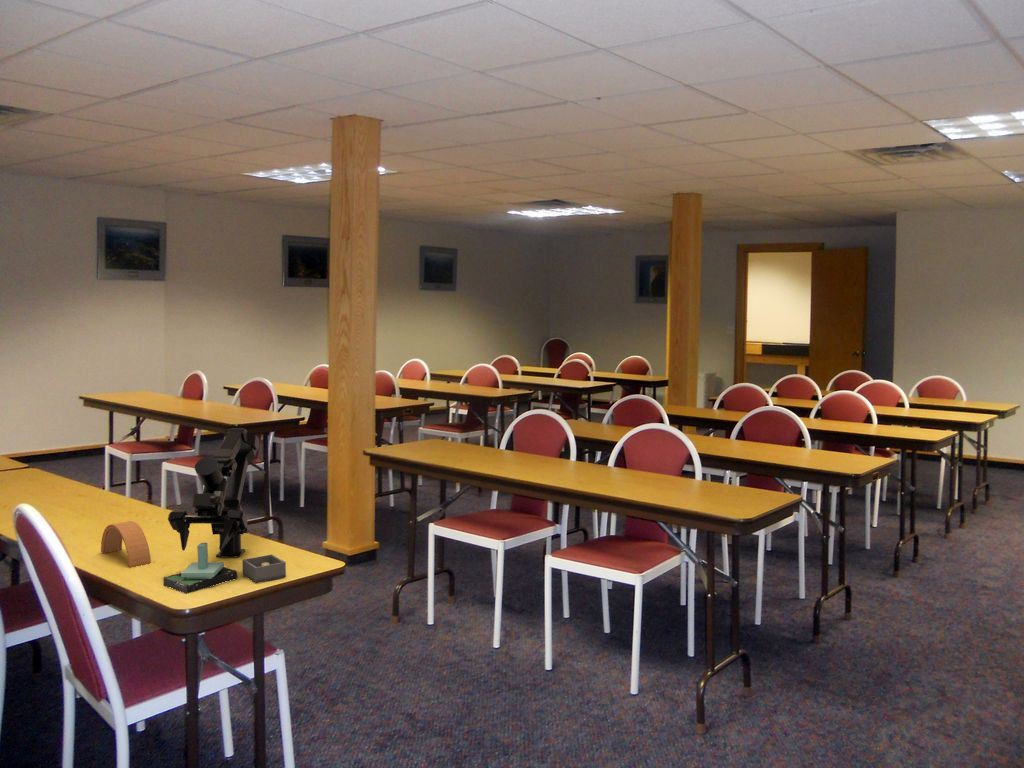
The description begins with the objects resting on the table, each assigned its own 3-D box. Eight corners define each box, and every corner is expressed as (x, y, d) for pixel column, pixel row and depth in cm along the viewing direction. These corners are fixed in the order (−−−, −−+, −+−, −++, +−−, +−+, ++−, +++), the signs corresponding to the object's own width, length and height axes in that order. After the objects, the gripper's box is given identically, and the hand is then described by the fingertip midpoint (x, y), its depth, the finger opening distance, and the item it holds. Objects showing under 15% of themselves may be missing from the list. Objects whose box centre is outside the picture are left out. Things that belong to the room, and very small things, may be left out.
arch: (129, 568, 232) (127, 532, 232) (100, 553, 247) (99, 518, 246) (151, 564, 237) (149, 528, 236) (121, 549, 251) (120, 515, 250)
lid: (193, 569, 225) (192, 539, 224) (224, 568, 225) (223, 539, 225) (181, 580, 216) (180, 549, 215) (214, 579, 216) (213, 549, 216)
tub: (242, 574, 227) (242, 559, 227) (272, 568, 232) (271, 554, 232) (255, 583, 220) (255, 568, 220) (285, 577, 225) (285, 562, 225)
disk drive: (213, 573, 230) (162, 587, 218) (213, 563, 230) (162, 576, 218) (238, 581, 224) (187, 596, 212) (238, 570, 224) (186, 584, 212)
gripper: (168, 479, 222) (154, 534, 212) (243, 479, 223) (232, 533, 213) (180, 503, 231) (167, 556, 221) (251, 502, 232) (241, 555, 222)
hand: (201, 549), depth 219 cm, fingers open, 9 cm apart
